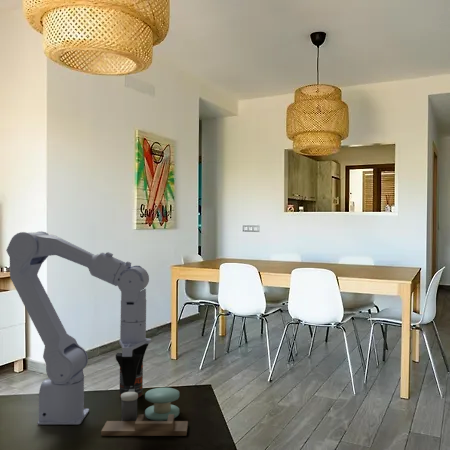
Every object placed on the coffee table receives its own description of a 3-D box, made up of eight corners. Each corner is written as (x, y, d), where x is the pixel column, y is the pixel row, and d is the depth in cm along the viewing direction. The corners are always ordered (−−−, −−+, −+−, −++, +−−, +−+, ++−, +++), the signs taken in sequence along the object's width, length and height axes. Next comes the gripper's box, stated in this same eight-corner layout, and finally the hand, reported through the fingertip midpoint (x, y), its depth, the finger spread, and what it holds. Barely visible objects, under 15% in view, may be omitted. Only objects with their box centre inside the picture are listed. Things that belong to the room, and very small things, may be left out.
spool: (142, 420, 107) (142, 399, 107) (147, 407, 115) (147, 387, 115) (177, 420, 107) (177, 399, 107) (180, 407, 115) (180, 387, 115)
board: (101, 435, 99) (101, 423, 99) (106, 425, 104) (106, 414, 104) (186, 435, 100) (186, 424, 100) (187, 425, 105) (188, 414, 105)
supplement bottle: (137, 401, 119) (137, 356, 119) (115, 399, 120) (115, 354, 120) (146, 392, 125) (146, 350, 125) (125, 390, 126) (125, 348, 126)
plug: (119, 424, 105) (119, 397, 105) (122, 417, 109) (122, 391, 109) (136, 424, 105) (136, 397, 105) (139, 417, 109) (139, 391, 109)
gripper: (146, 327, 100) (145, 391, 100) (155, 314, 114) (154, 369, 114) (112, 326, 100) (111, 390, 100) (126, 313, 114) (125, 369, 114)
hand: (132, 379), depth 107 cm, fingers open, 7 cm apart
